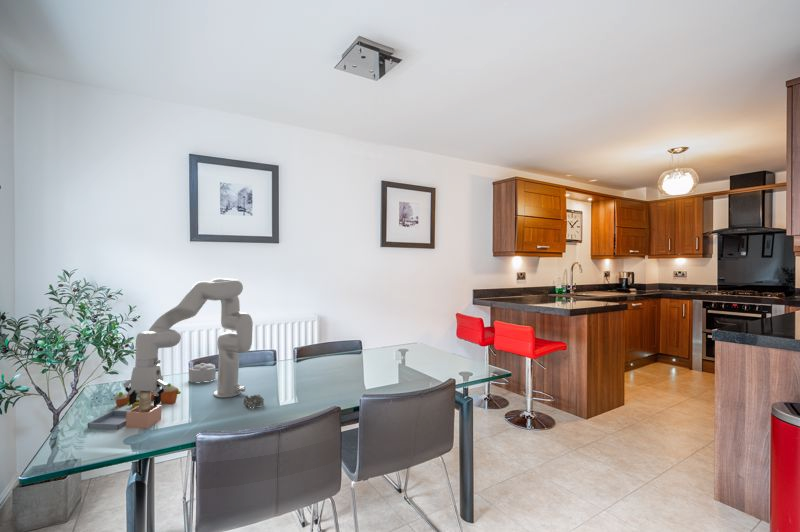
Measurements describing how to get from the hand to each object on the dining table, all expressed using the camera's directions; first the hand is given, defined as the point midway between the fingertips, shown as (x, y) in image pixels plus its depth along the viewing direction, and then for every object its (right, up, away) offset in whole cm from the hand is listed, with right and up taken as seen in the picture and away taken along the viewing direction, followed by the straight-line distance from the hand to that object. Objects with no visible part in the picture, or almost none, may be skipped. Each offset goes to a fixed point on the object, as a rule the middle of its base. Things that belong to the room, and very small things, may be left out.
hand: (144, 404), depth 152 cm
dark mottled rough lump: (+34, -11, +28) cm, 45 cm away
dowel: (0, -8, 0) cm, 8 cm away
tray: (-12, -8, 0) cm, 14 cm away
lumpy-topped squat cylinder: (-8, -8, +58) cm, 59 cm away
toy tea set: (-13, -9, +22) cm, 27 cm away
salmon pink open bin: (0, -9, 0) cm, 9 cm away
